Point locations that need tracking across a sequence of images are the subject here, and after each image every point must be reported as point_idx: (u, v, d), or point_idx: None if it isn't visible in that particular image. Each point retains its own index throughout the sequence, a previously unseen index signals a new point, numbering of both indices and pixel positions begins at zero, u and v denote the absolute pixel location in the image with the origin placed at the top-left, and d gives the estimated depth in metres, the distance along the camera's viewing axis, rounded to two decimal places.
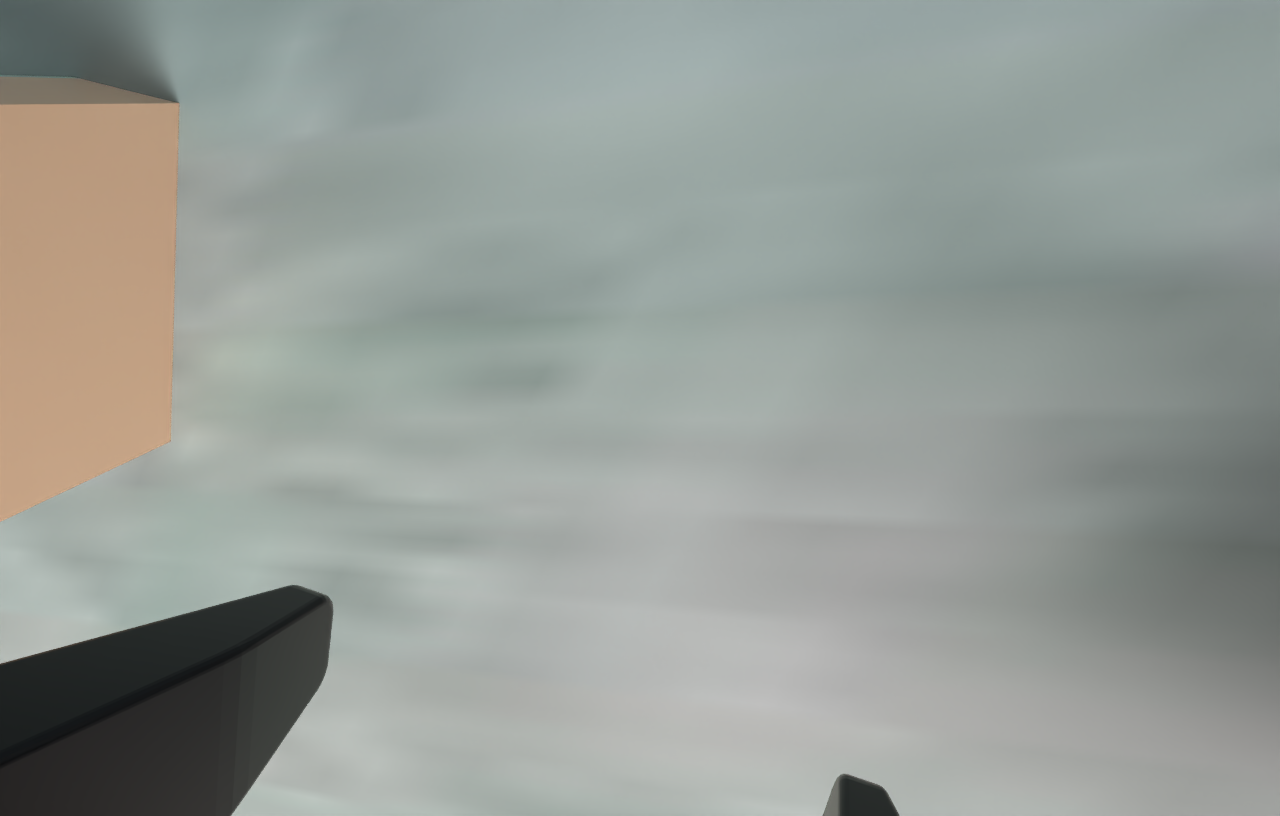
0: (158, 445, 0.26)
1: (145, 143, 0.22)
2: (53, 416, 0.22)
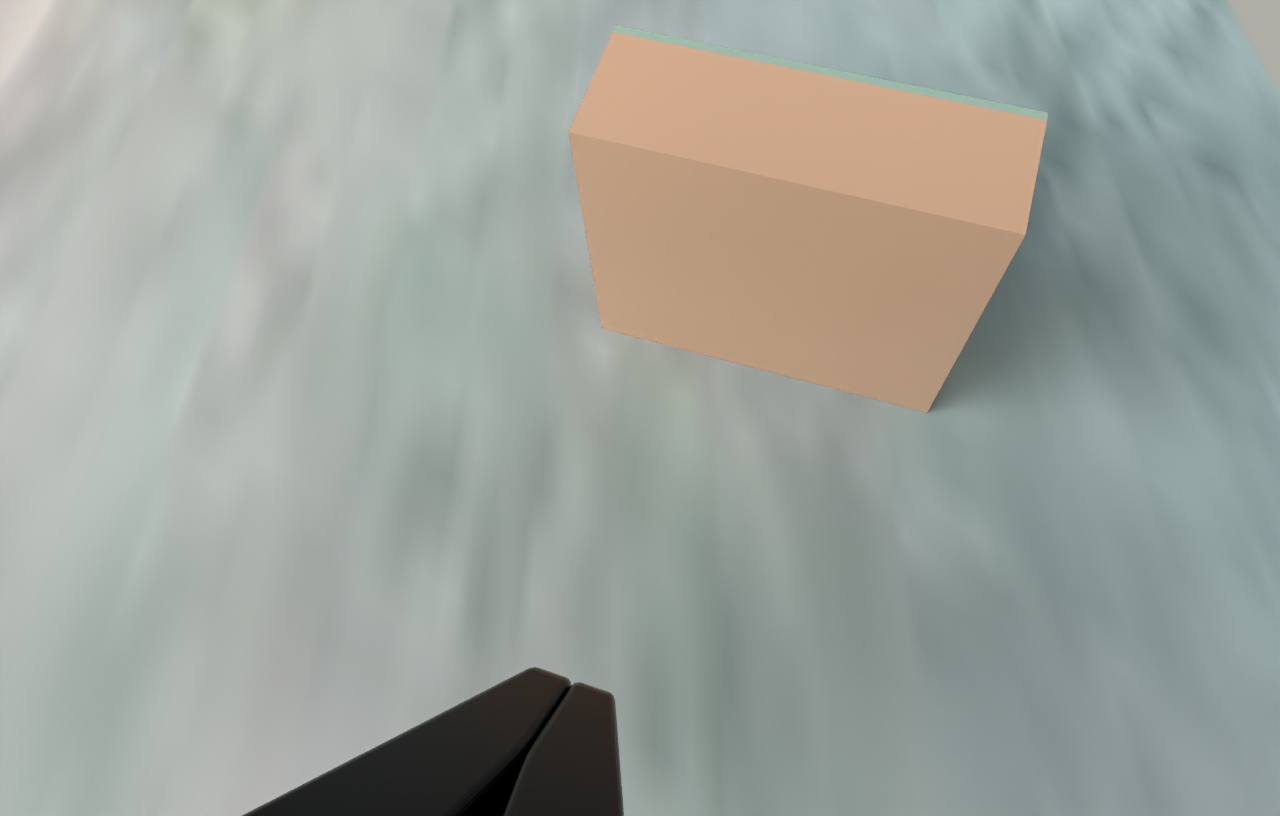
0: (601, 320, 0.26)
1: (901, 385, 0.24)
2: (670, 269, 0.22)
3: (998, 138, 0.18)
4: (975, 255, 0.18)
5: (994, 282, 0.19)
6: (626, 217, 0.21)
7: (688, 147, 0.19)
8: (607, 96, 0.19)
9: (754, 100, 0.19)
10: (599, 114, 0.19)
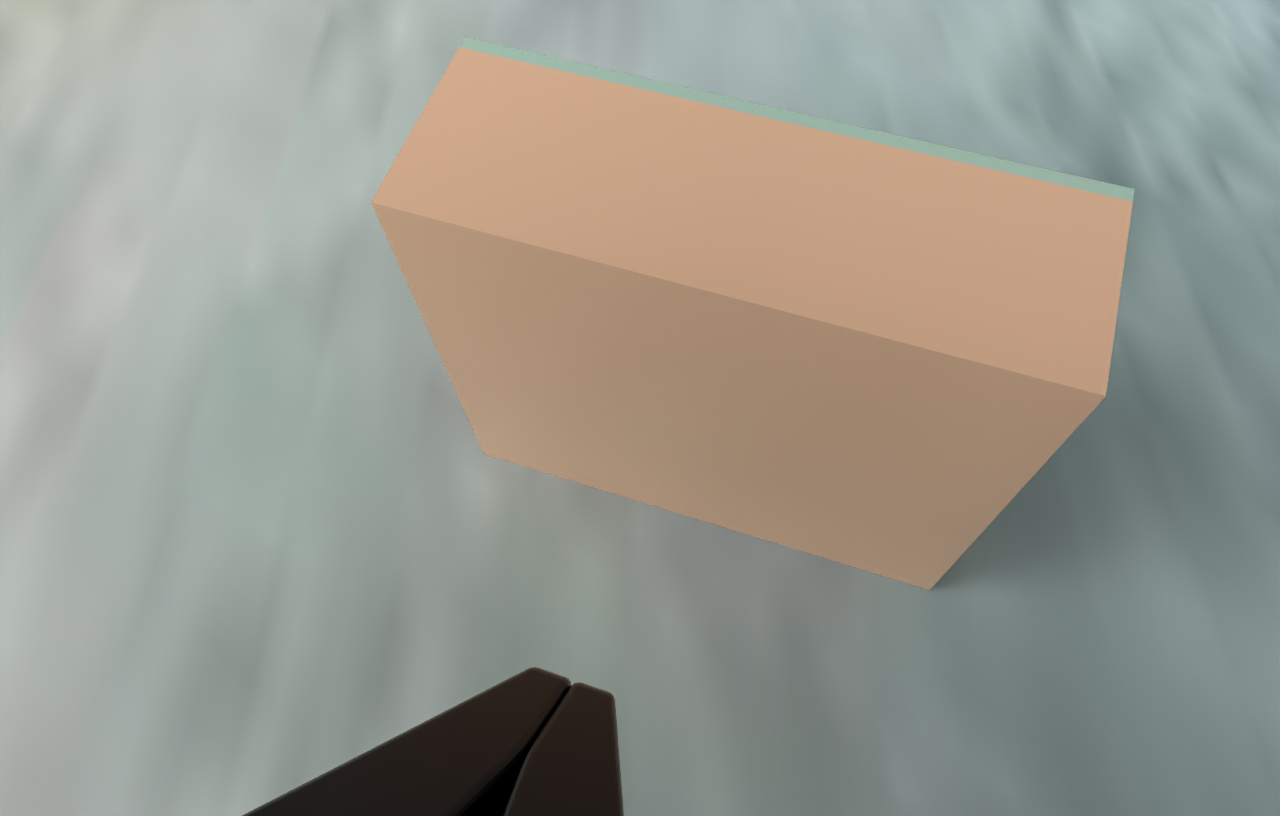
0: (481, 445, 0.19)
1: (893, 558, 0.17)
2: (558, 394, 0.15)
3: (1056, 229, 0.11)
4: (1016, 417, 0.11)
5: (1044, 454, 0.12)
6: (484, 325, 0.14)
7: (557, 231, 0.12)
8: (439, 147, 0.12)
9: (668, 158, 0.12)
10: (423, 175, 0.12)
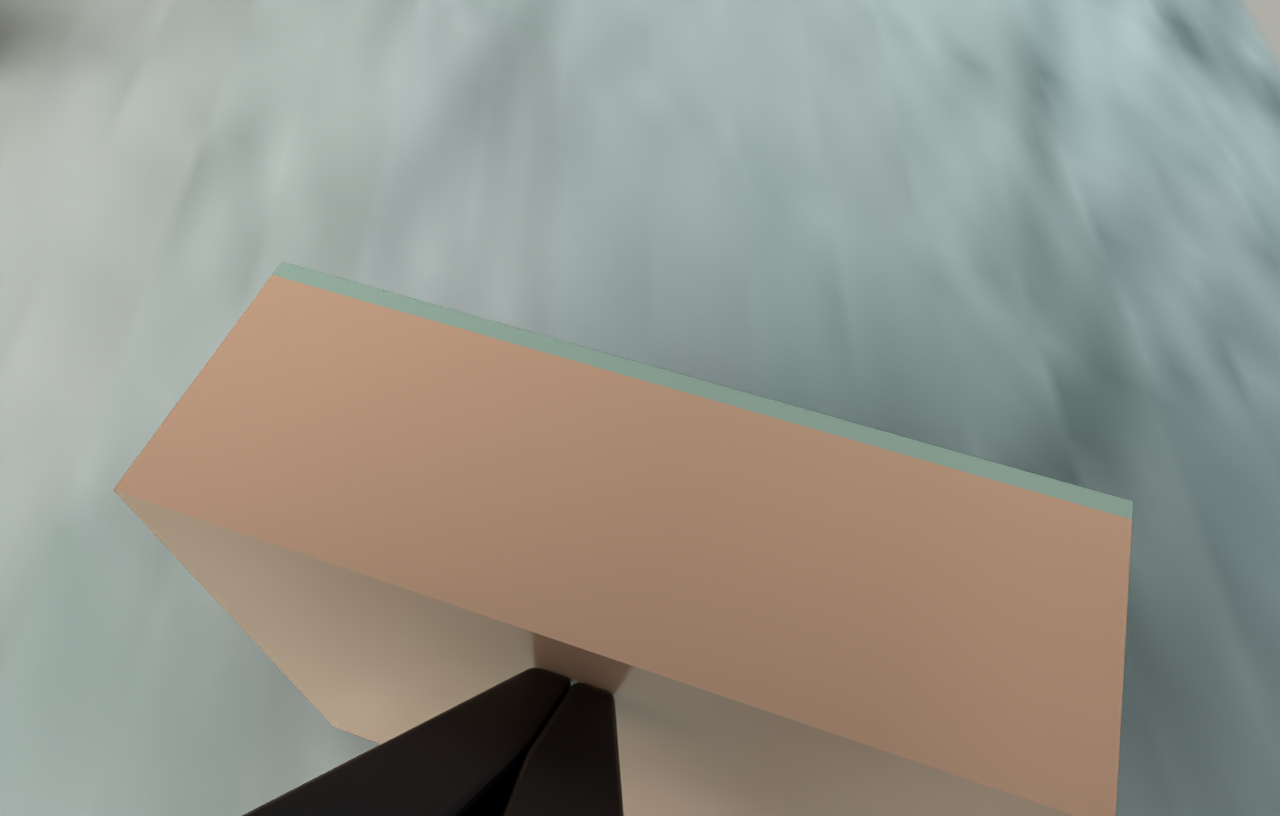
0: (327, 719, 0.15)
1: None
2: (401, 696, 0.12)
3: (1033, 557, 0.09)
4: None
5: None
6: (293, 622, 0.11)
7: (362, 542, 0.09)
8: (221, 411, 0.09)
9: (524, 438, 0.09)
10: (192, 452, 0.09)
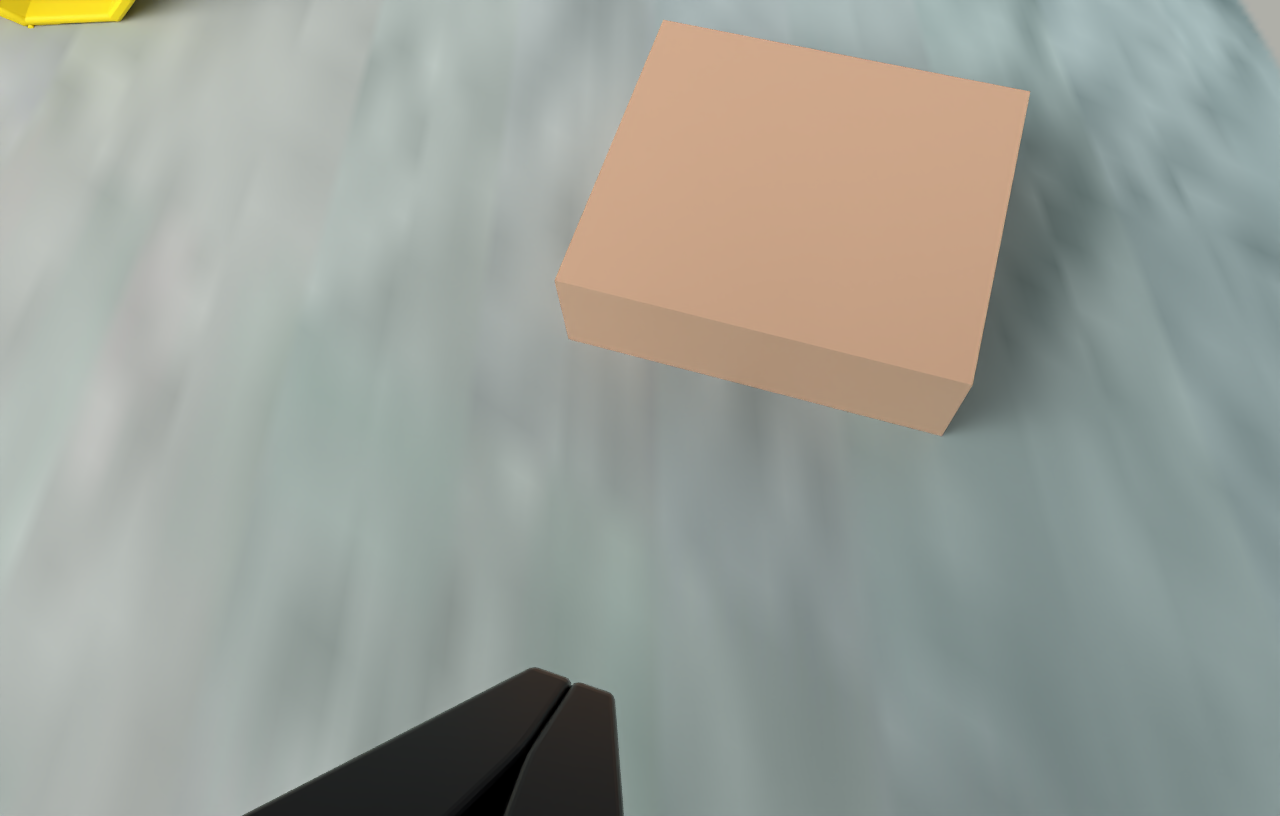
0: (563, 263, 0.21)
1: (937, 327, 0.20)
2: (695, 163, 0.22)
3: None
4: (994, 116, 0.22)
5: (1015, 145, 0.22)
6: (677, 100, 0.23)
7: (756, 46, 0.24)
8: None
9: None
10: None
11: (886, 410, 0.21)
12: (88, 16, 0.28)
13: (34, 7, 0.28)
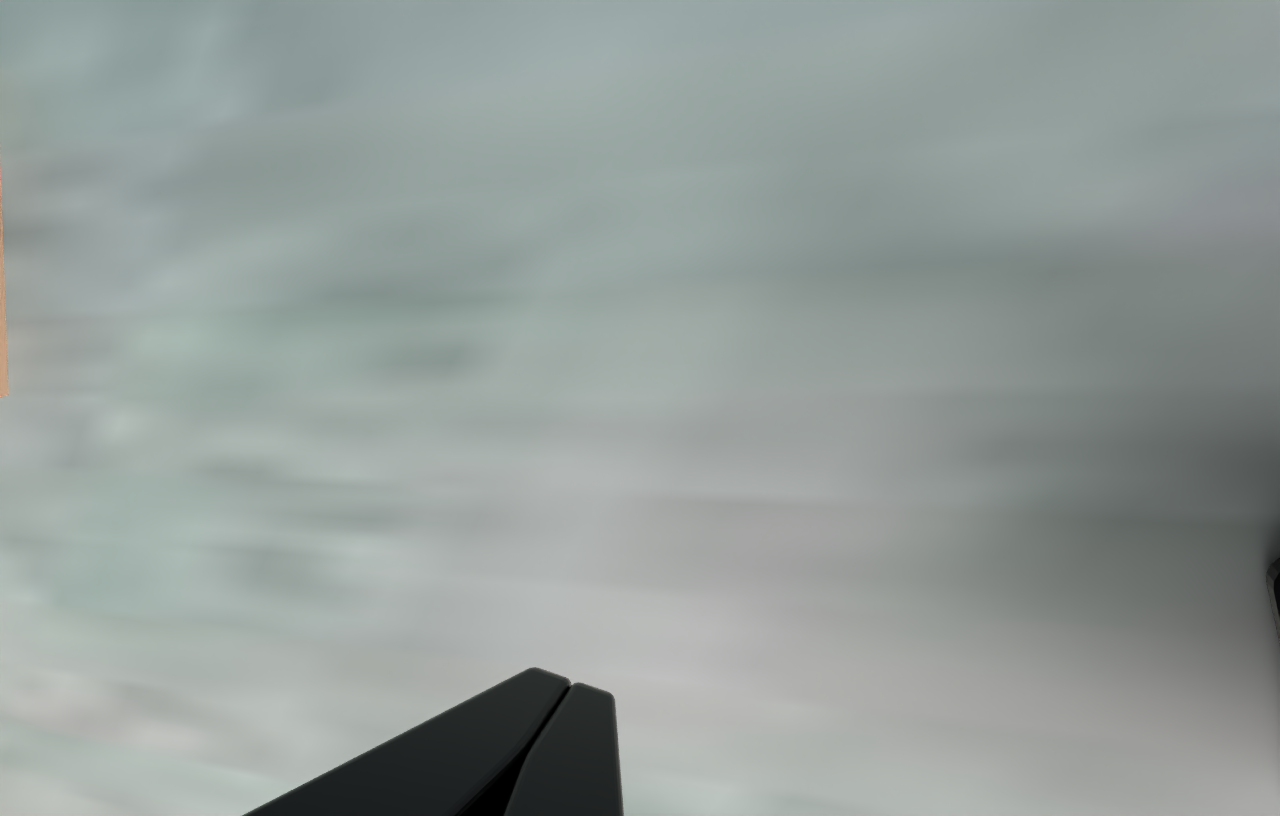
0: None
1: None
2: None
3: None
4: None
5: None
6: None
7: None
8: None
9: None
10: None
11: None
12: None
13: None
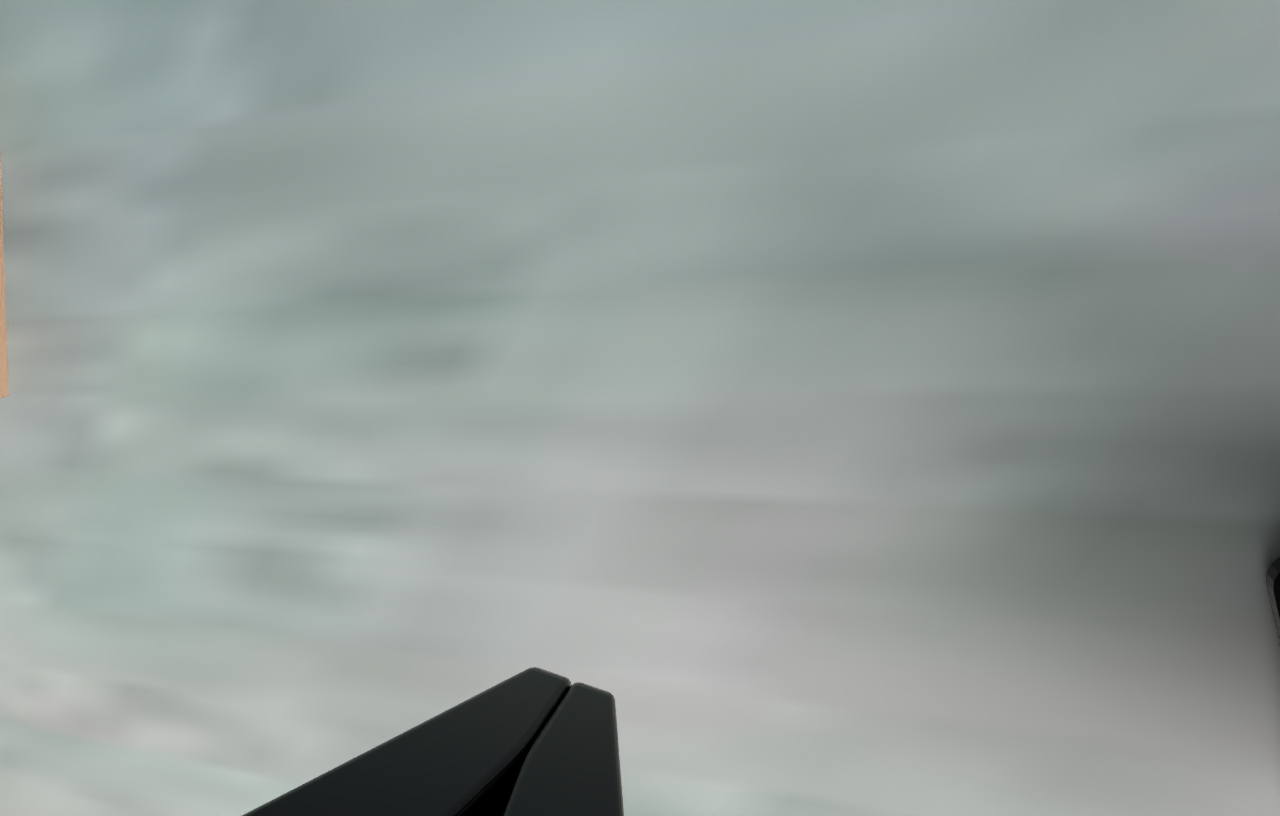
0: None
1: None
2: None
3: None
4: None
5: None
6: None
7: None
8: None
9: None
10: None
11: None
12: None
13: None
